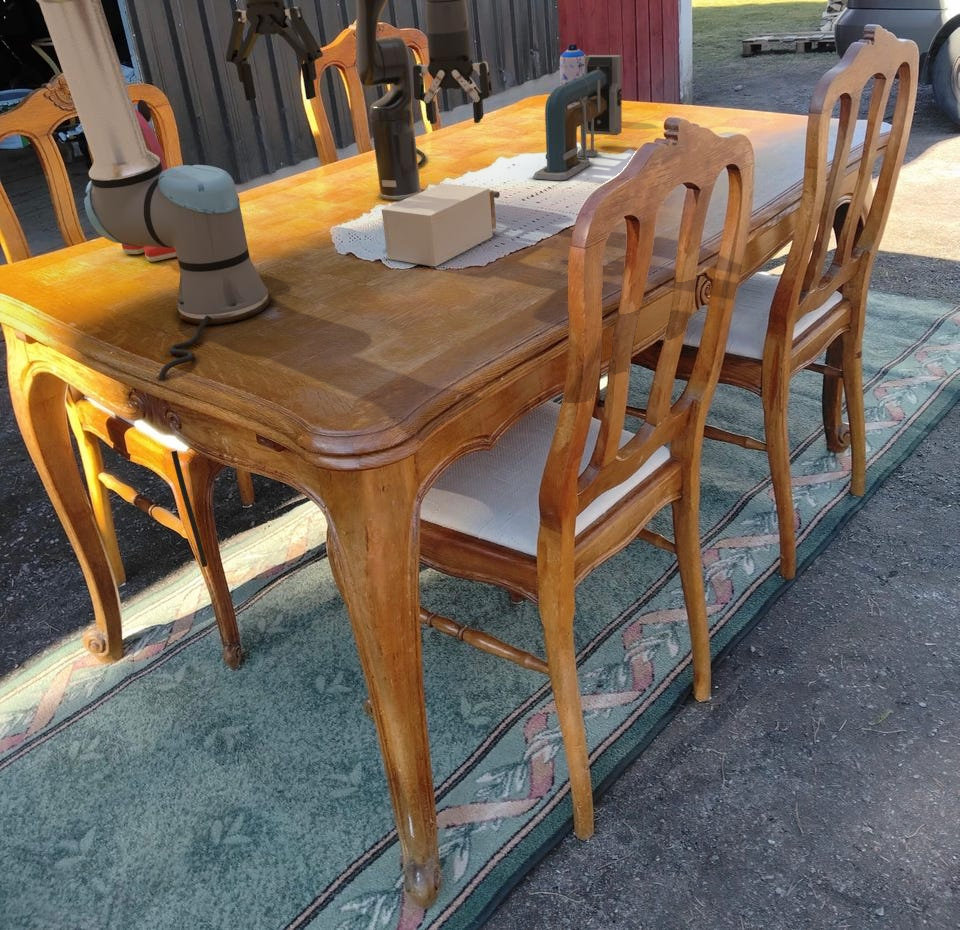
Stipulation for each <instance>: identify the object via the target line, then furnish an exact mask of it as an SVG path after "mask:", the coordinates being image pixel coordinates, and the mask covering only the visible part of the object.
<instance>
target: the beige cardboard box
mask: <svg viewBox="0 0 960 930" xmlns="http://www.w3.org/2000/svg"><path fill="white" fill-rule="evenodd" d="M490 190H491V189H490V188H489V187H482V186H481V187H480V186H471V185H462V184H453V183H443V182H441V183H440V184H437V185H435V186H432V187H430V188H428V189H425V190H423V191H421V193H418V194H416V195H414V196H411V197H409V198H407V199H404V200H399V201H398V202H395V203H393V204H390V205H388V206H386V207H383V208H381V217H382V224H383V225H382V226H383V232H384V241H385V248H386V256H387V259H388V260H392V261H399V262H405V263H410V264H417V265H422V266H429V267H433V268H434V267H437V266H440V265H441V264H444V263H446V262H447V261H449V260H451V259H454V258H455V257H457V256H459V255H460V254H462V253H464V252H467V251H468V250H471V249H472V248H474V247H476V246H479V244H481V243H483V242H485V241H488V240H489V239H491V238H493V236H494V235H493V234H494V233H493V229H492V218H491V203H490Z"/></svg>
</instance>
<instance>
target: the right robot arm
mask: <svg viewBox="0 0 960 930" xmlns="http://www.w3.org/2000/svg"><path fill="white" fill-rule="evenodd" d="M388 1H389V0H355V5H356V19H355V21H356V23H355V27H356V28H355V62H356V63H355V64H356V71H357V75H358V78H359V81H360V82H361V84H362V85H363V86H364V87H367V88H369V87H370V88H372V87H373V88H374V87H382V86H388V85H390V88H389V90H388V91H387V92H386V93H385V95H384V96H382V97H381V98H379V99H378V100H376V101H375V102H373V103H372V104H371V105H370V107H369V115H370V121H371V128H372V130H371V131H372V137H373V147H374V153H375V161H376V168H377V177H378V178H377V179H378V186H379V197H380V198H381V199H382V200H386V201H402V200H404V199H407V198H409V197H411V196H414V195H416V194H418V193H421V192H422V188H421V181H420V173H419V172H420V171H419V167H420V166H421V165H422V164H423V163H424V162H425V161H426V154H425V152H423V151H421V150H420V149H418V148H417V142H416V134H415V125H414V114H413V98H414V99H415V100H416V101H421V102H423V103H424V105H425V116H426V120H427V121H428V122H429V124H430V125H436V124H437V122H438V118H437V116H438V115H437V105H436V100H434V99H435V97H436V96H437V94H438V93H439V91H440V90H441V89H442V90H450V89H454V90H460V89H463V90H464V92H465V93H467V94H468V95H469V96H470V98H471V99H472V100H473V102H472V111H473V123H474V124H479V123H480V122H481V120H482V119H484V100H485V99H488V98H489V97H490V96H492V94H493V87H492V78H491V70H490V62H489V61H488V60H483V61H481V62H474V61H473V59H472V53H471V40H470V39H471V38H470V25H469V12H468V6H467V2H466V1H467V0H424V1H425V14H424V15H425V17H424V18H425V30H426V38H427V50H428V59H429V61H428V64H423V63H421V62H419V63H416V64H415V65H414V66H412V75H411V60H410V52H409V49H408V46H407V43H406V42H405V40H404V39H403V38H402V37H401V36H388V37H381V38H377V31H378V25H379V21H380V17H381V15H382V12H383V10H384V9H385V7H386V4H387V3H388ZM474 71H475V72H476V74H477V76H479V77H480V84H481V85H480V86H481V90H480V89H479V88H478V86H477V83H475V81H474V80H473V78H472V77H471V75H472V74H473V72H474ZM427 73H428V74H429V75H430V76H431V77H432V79H433V81H432V82H431V85H430V86H429V88H428V90H427V92H425V77H426V76H427ZM412 77H413V79H412ZM412 80H413V92H412ZM418 154H419V155H420V156H421V159H420V160H419V159H418ZM418 160H419V161H418Z"/></svg>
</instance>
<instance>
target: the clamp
mask: <svg viewBox="0 0 960 930" xmlns="http://www.w3.org/2000/svg"><path fill="white" fill-rule="evenodd" d="M622 58H623V56H622V55H621V54H589V55H586V57H585V75H583V76H581V77H579V78H577V79H575V80H573V81H570V82H568V83H566V84H564V85H562V86H560V85H559V86H557V87H555V88H554V89H553V91H552V92H551V93H550V94H549V95H548V96H547V99H546V101H545V107H544V120H545V121H544V122H545V123H544V124H545V146H546V147H545V149H546V150H545V151H546V154H545V160H546V165H545V166H544V167H542V168H541V169H538V170H537V171H535V172H534V174H533V176H532V178H533V179H536V180H549V181H551V180H552V181H564V180H568V179H570V178H571V177H572V176H574V175H576V174H577V173H579V172H580V171H582V170H584V169H585V168H587V167H588V166H591V161H590V158H589V157H593V158H594V157H595V156H598V155H599V153H598V150H597V149H595V135H602V136H603V135H605V136H619V135H620V134H621V133H622V129H623V128H622V127H623V125H622V122H623V121H622V120H623V117H622V116H623V115H622V108H623V107H622V104H623V103H622V98H623V95H622V91H623V89H622V87H623V86H622V85H623V82H622V81H623V79H622V78H623V76H622V75H623V74H622V73H623V72H622V71H623V70H622V69H623V68H622V67H623V65H622V61H623V59H622ZM574 102H580V104H578V105H576V106H574V107H572V108H570V109H568V105H570V104H572V103H574ZM579 127H580V148H581V149H580V150H579V149H578V134H577V133H578V128H579ZM587 135H590V149H587Z"/></svg>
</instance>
